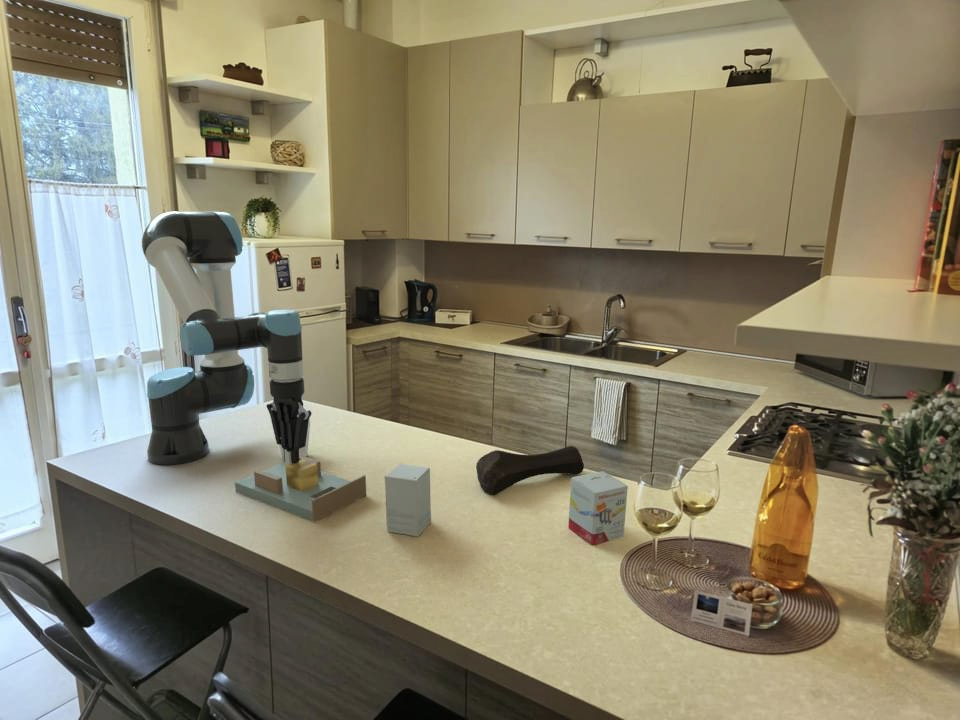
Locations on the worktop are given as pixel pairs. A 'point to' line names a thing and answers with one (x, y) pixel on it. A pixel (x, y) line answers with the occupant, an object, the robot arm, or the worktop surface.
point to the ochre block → (301, 475)
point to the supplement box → (408, 499)
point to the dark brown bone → (524, 467)
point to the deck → (302, 492)
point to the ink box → (597, 507)
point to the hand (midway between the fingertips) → (292, 474)
